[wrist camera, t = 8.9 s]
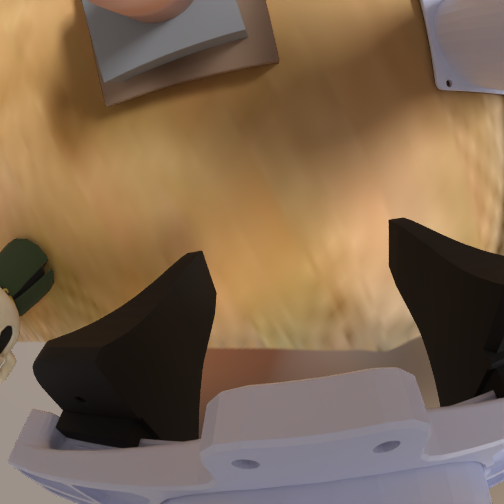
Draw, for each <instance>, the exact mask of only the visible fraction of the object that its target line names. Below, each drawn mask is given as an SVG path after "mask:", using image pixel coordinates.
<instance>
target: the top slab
mask: <svg viewBox="0 0 504 504" xmlns="http://www.w3.org/2000/svg"><path fill="white" fill-rule="evenodd" d="M82 3H83V7H84V12H85V16H86V20H87V23H88V27H89V31H90V35H91V39H92V42H93V46H94V50H95V53H96V57H97V60H98V63H99V67H100V70H101V74H102V77H103V80H104V83H106V82H123V81H126V80H128V79H130V78H132V77H134V76H137V75H139V74H141V73H144V72H146V71H148V70H151V69H153V68H156V67H158V66H160V65H163V64H166V63H168V62H171V61H173V60H176V59H179V58H182V57H184V56H187V55H190V54H193V53H196V52H199V51H202V50H205V49H208V48H211V47H214V46H218V45H221V44H224V43H228V42H231V41H235V40H239V39H242V38H246V37H248V35H247V32H246V28H245V25H244V22H243V19H242V16H241V13H240V10H239V7H238V4H237V1H236V0H194V1H193V2H192V3H191V5H190V6H189V7H188V8H187V9H186V10H185V11H183V12H182V13H181V14H179V15H178V16H176V17H174V18H172V19H170V20H167V21H164V22H160V23H142V22H139V21H136V20H133V19H131V18H128V17H126V16H123V15H121V14H118V13H116V12H113V11H110V10H108V9H105V8H102V7H99V6H97V5H94V4H92V3H91V2H89V1H88V0H82Z"/></svg>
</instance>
